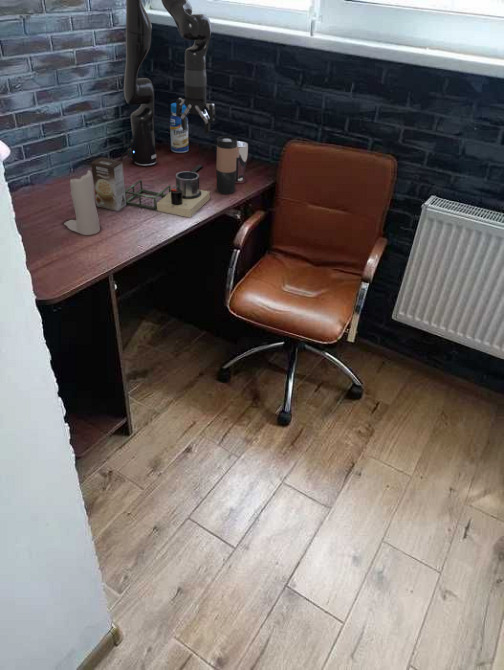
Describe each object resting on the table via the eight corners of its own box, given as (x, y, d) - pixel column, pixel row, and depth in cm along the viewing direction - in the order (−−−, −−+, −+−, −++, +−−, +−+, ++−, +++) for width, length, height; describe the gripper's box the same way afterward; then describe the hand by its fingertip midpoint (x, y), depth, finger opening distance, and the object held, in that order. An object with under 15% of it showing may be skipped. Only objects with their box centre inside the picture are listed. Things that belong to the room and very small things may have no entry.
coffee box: (95, 206, 179) (89, 162, 169) (105, 200, 184) (99, 156, 174) (118, 211, 177) (113, 167, 167) (127, 204, 182) (123, 161, 172)
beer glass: (247, 178, 209) (249, 141, 199) (245, 184, 203) (247, 147, 194) (231, 176, 209) (232, 140, 200) (228, 182, 204) (230, 145, 194)
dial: (184, 201, 179) (183, 189, 176) (179, 206, 176) (179, 193, 173) (174, 199, 180) (173, 187, 177) (169, 204, 177) (168, 191, 174)
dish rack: (124, 203, 182) (123, 191, 179) (141, 191, 192) (140, 179, 189) (155, 210, 180) (155, 197, 176) (171, 197, 189) (171, 185, 186)
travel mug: (238, 189, 199) (240, 138, 187) (229, 195, 193) (231, 143, 181) (221, 185, 201) (222, 134, 189) (212, 191, 196) (213, 139, 183)
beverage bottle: (185, 146, 235) (184, 101, 223) (191, 152, 229) (190, 106, 217) (168, 148, 232) (166, 102, 220) (174, 154, 226) (172, 107, 214)
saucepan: (172, 194, 183) (171, 177, 179) (190, 179, 195) (190, 163, 191) (193, 198, 181) (193, 181, 177) (210, 183, 193) (210, 166, 189)
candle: (74, 217, 171) (64, 159, 158) (104, 229, 166) (96, 170, 153) (58, 225, 166) (46, 166, 154) (88, 237, 161) (79, 176, 148)
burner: (169, 196, 183) (169, 194, 182) (181, 186, 190) (181, 185, 190) (194, 201, 181) (194, 200, 180) (205, 191, 188) (205, 190, 188)
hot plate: (188, 218, 176) (188, 210, 174) (155, 211, 178) (155, 203, 176) (209, 199, 190) (209, 191, 188) (178, 192, 193) (178, 184, 191)
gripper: (171, 82, 169) (173, 131, 179) (210, 88, 166) (209, 137, 176) (181, 77, 175) (182, 125, 185) (218, 83, 172) (217, 132, 182)
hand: (195, 131), depth 181 cm, fingers open, 8 cm apart
